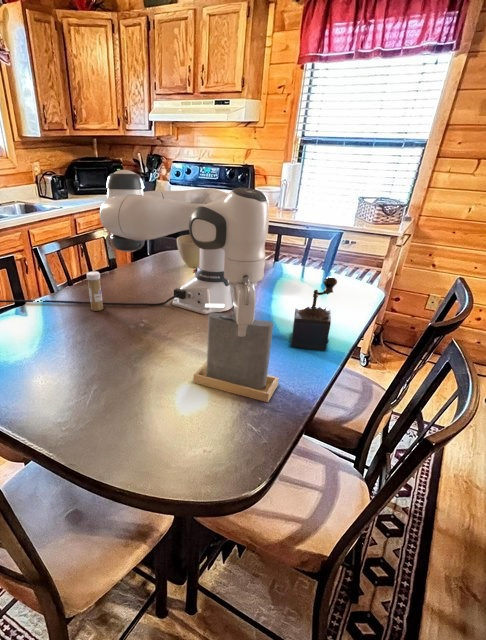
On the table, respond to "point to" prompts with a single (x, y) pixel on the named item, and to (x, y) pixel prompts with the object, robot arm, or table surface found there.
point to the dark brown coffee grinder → (313, 322)
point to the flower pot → (188, 251)
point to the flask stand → (262, 395)
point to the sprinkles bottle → (95, 290)
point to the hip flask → (238, 351)
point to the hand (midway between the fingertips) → (239, 326)
